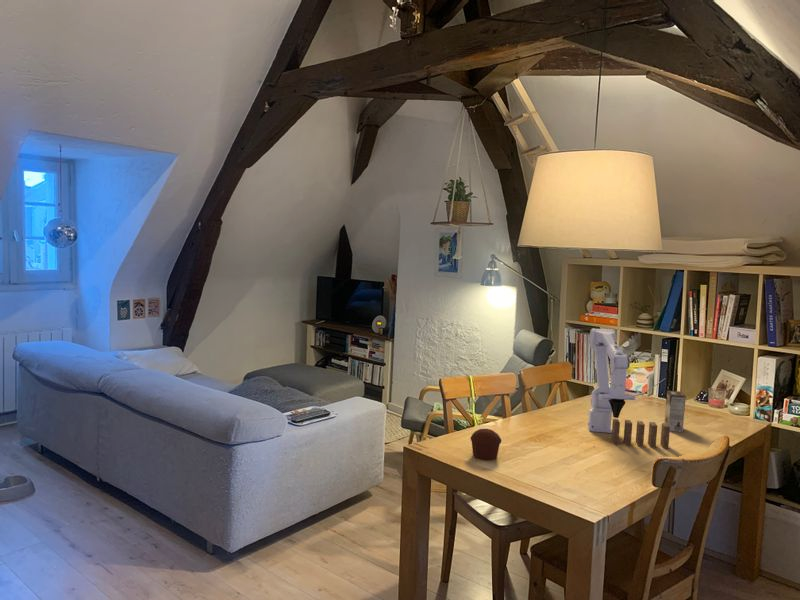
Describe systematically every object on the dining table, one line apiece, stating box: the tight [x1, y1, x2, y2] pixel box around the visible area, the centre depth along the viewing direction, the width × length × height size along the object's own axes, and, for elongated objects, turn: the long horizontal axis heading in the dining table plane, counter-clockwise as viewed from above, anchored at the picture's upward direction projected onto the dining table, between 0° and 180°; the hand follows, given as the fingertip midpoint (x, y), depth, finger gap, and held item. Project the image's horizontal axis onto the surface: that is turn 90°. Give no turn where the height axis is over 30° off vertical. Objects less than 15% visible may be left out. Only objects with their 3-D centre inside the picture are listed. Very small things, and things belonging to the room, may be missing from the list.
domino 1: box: [610, 418, 621, 445], centre depth 258 cm, size 2×5×9 cm, turn 170°
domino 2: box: [622, 419, 633, 446], centre depth 257 cm, size 2×5×9 cm, turn 170°
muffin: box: [470, 428, 502, 461], centre depth 235 cm, size 12×11×10 cm
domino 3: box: [635, 420, 646, 447], centre depth 256 cm, size 2×5×9 cm, turn 170°
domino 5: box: [659, 422, 671, 450], centre depth 255 cm, size 2×5×9 cm, turn 169°
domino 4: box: [647, 421, 658, 448], centre depth 255 cm, size 2×5×9 cm, turn 170°
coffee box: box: [663, 390, 687, 433], centre depth 280 cm, size 9×6×16 cm
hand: (615, 417), depth 257 cm, fingers closed
